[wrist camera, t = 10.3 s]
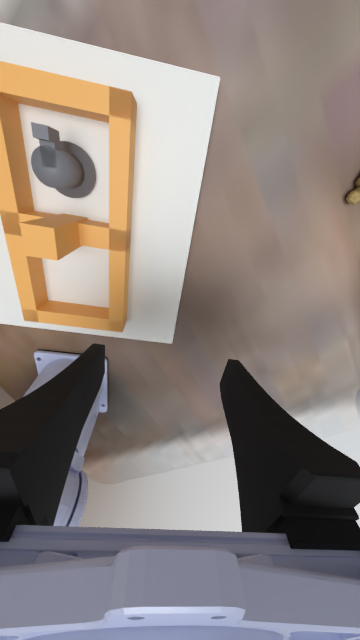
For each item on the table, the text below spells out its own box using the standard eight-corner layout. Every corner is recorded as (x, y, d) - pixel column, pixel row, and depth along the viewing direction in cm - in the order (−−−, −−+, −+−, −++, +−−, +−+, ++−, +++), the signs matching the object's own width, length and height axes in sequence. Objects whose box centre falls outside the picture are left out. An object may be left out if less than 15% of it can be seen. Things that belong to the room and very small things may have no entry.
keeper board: (172, 335, 24) (171, 369, 20) (-2, 314, 23) (-47, 346, 18) (216, 87, 14) (236, 38, 10) (-89, 12, 13) (-242, -90, 8)
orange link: (126, 321, 22) (113, 357, 17) (36, 309, 21) (-5, 345, 16) (136, 103, 14) (117, 58, 9) (-9, 70, 13) (-116, 1, 8)
